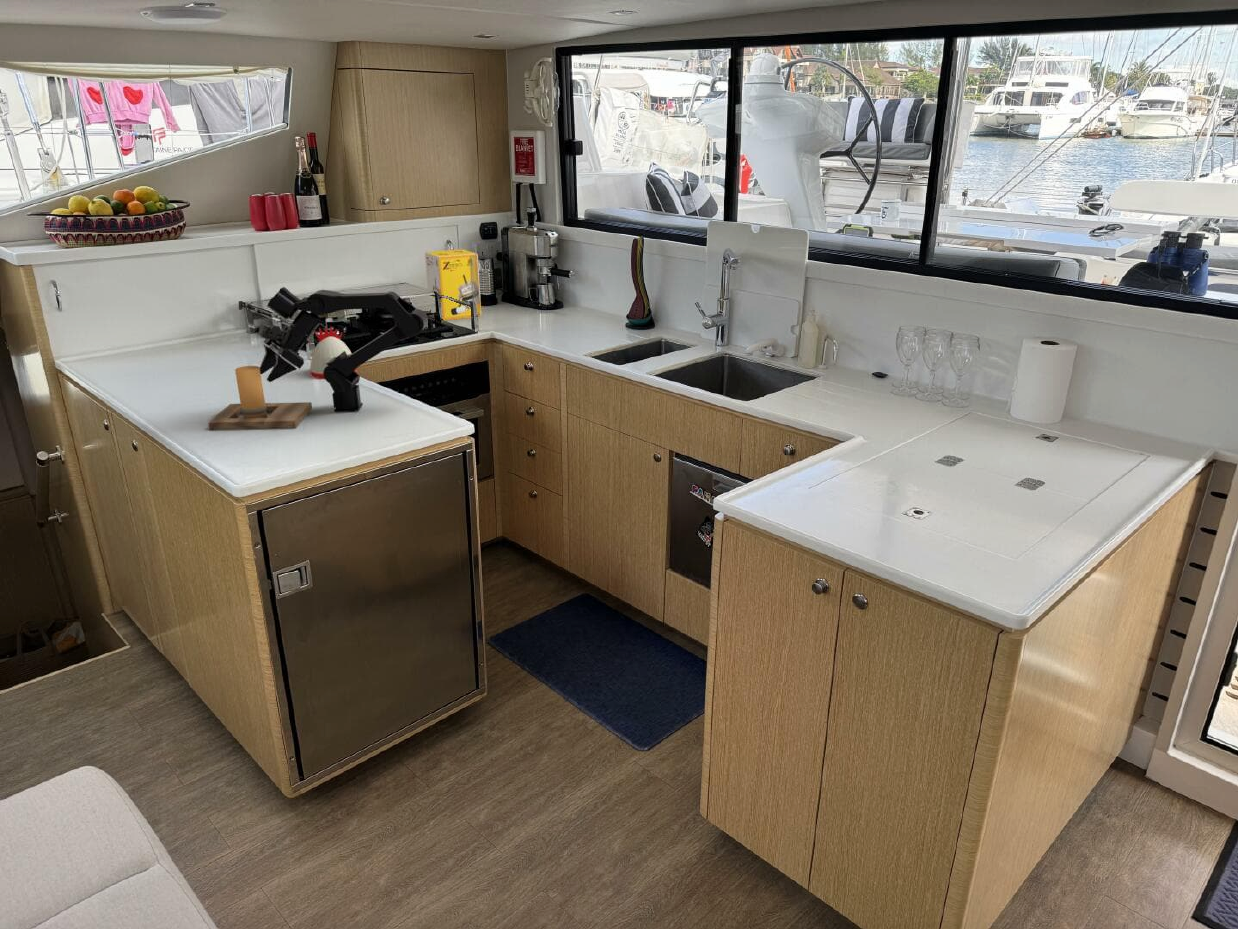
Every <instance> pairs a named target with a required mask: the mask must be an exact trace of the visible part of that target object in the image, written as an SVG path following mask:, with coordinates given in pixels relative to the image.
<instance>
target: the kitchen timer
mask: <svg viewBox="0 0 1238 929" xmlns="http://www.w3.org/2000/svg"><path fill="white" fill-rule="evenodd" d="M318 331H319V334H318V333H317V332H314V334H315V337H317V339H318V340H319V341H318V343H317V344H316V345H315V347H314V350H313V351H312V352H311V355H312V356H311V360H310V366H309V367H310V376H311V375H312V376H313V377H312V376H311V377H312V378H314V377H315V379H319V380H325V378H324V375H323V373H324V369H325V368H326V367H327V366H328V365H327V363H328V362H329V361H330V360H331V359H332V358H334V357H337V356H339V355H340V354H341V353H342V352H343V351H345V352H346V354H347V355H349V354H352V352H351V349H350V348H349V347H348V346H347V344H346V343H345V342H344V341H342V340H341V339H342V337H343V332H340V334H339V335H338V329H337V328H335V330H334V331H333V327H332V326H331V325H330V327H329V330H328V327H327V328H325V327H324V332H323V331H322V329H321V328H320V327H319V328H318ZM357 368H358V367H357ZM357 368H356V369H355V370H354V371H355V372H356V373H358V369H357Z"/></svg>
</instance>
